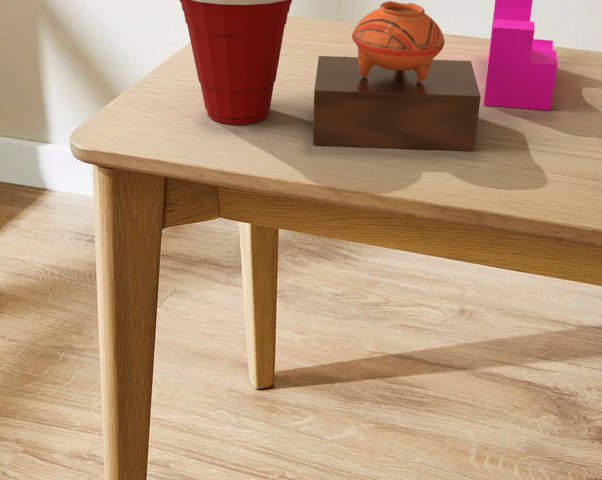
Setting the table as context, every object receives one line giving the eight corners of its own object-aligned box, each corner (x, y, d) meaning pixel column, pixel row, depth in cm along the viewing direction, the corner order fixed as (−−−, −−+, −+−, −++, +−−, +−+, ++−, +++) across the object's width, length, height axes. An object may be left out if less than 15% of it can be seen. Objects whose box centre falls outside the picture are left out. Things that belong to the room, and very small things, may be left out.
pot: (349, 53, 90) (370, -20, 86) (430, 79, 89) (455, 8, 86) (335, 80, 83) (358, 2, 79) (423, 108, 83) (450, 32, 79)
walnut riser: (465, 112, 92) (471, 60, 89) (474, 151, 85) (480, 96, 82) (317, 106, 93) (318, 55, 90) (312, 145, 85) (314, 90, 82)
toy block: (549, 110, 93) (562, 32, 89) (483, 104, 94) (493, 27, 90) (547, 59, 105) (558, -11, 101) (488, 55, 106) (497, -15, 102)
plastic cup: (304, 96, 95) (306, -31, 89) (286, 139, 86) (287, 2, 80) (195, 88, 96) (190, -37, 90) (166, 130, 87) (158, -5, 81)
